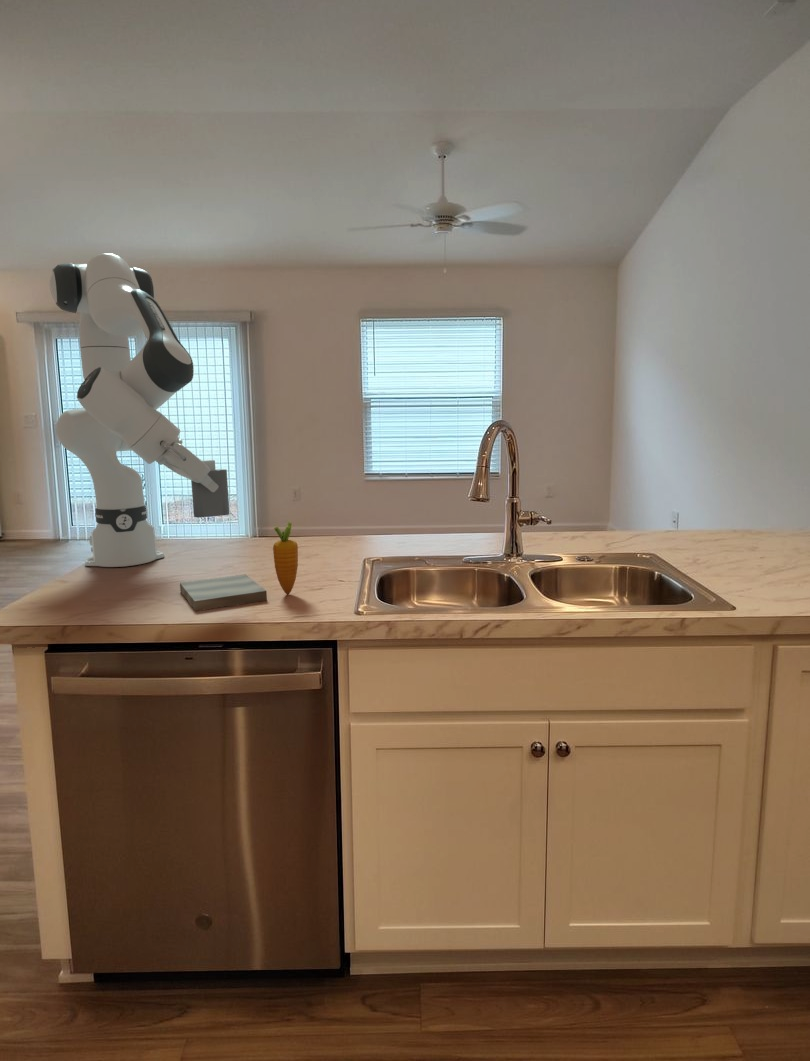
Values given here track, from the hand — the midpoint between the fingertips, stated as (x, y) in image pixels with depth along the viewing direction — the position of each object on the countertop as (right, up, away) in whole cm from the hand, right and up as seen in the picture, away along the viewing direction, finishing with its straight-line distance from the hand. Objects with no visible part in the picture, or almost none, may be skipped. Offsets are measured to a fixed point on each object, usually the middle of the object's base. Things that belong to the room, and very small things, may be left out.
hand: (213, 488), depth 134 cm
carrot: (+14, -22, +4) cm, 26 cm away
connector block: (0, -5, +1) cm, 5 cm away
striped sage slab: (+1, -22, +4) cm, 22 cm away
